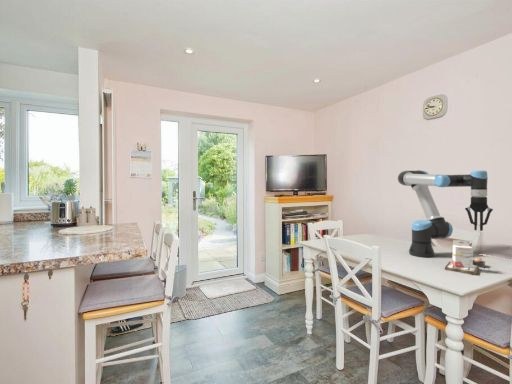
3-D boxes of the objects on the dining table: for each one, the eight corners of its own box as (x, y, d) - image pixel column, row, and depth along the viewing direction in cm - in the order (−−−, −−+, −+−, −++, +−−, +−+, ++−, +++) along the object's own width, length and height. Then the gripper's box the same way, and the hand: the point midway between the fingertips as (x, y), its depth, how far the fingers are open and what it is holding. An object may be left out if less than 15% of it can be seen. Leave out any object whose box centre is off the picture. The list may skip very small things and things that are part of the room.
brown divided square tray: (444, 269, 154) (444, 266, 154) (449, 263, 164) (449, 261, 164) (476, 275, 144) (476, 272, 144) (479, 268, 155) (479, 265, 154)
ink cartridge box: (455, 266, 153) (455, 241, 153) (452, 264, 158) (452, 239, 157) (473, 268, 150) (473, 242, 150) (469, 265, 155) (469, 240, 154)
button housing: (471, 265, 160) (471, 261, 160) (472, 263, 164) (472, 259, 164) (484, 267, 156) (484, 263, 156) (485, 265, 160) (485, 261, 160)
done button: (473, 262, 160) (473, 258, 160) (474, 260, 162) (474, 257, 162) (481, 263, 157) (481, 260, 157) (482, 262, 160) (482, 258, 160)
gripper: (464, 196, 160) (463, 235, 161) (493, 197, 151) (492, 238, 152) (465, 196, 166) (465, 233, 167) (493, 196, 157) (493, 236, 157)
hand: (478, 235), depth 159 cm, fingers closed
